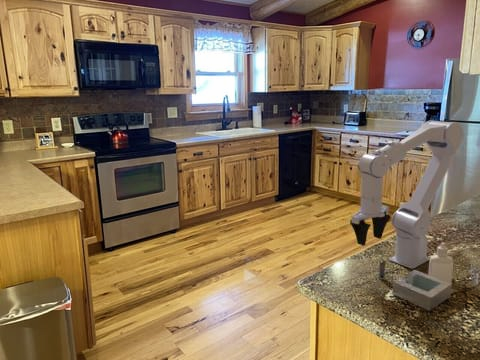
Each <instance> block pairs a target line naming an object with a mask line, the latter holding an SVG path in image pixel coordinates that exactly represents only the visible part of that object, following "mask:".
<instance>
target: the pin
mask: <svg viewBox="0 0 480 360" xmlns="http://www.w3.org/2000/svg"><path fill="white" fill-rule="evenodd" d="M378 263H379V273H378V274H379V275H378V278H379V277H381V278H384V279H385V270H386V263H387V262H386V260H383V259H379V261H378Z"/></svg>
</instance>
